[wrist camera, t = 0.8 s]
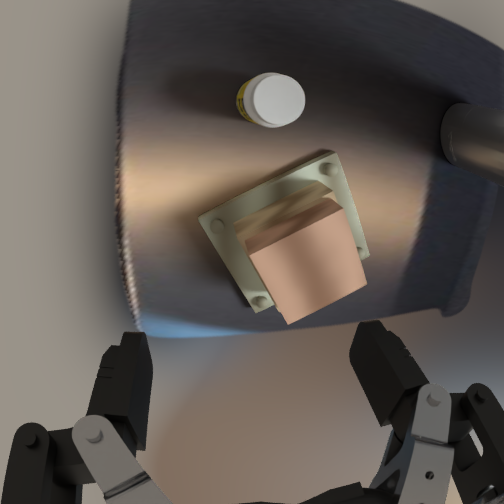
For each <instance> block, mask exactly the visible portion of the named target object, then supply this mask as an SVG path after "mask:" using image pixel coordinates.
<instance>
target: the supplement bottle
mask: <svg viewBox="0 0 504 504" xmlns="http://www.w3.org/2000/svg"><path fill="white" fill-rule="evenodd" d="M236 105H237V109H238V111H239V113H240V114H241V115H242V116H243V117H244V118H245V119H247V120H248V121H250V122H253V123H256V124H259V125H261V126H265V127H271V128H274V127H281V126H284V125H286V124H289V123H291V122H293V121H295V120H296V119H297V118H298V117H299V116H300V115H301V113H302V111H303V109H304V106H305V95H304V91H303V89H302V87H301V86H300V85H299V83H298V82H297V81H295V80H294V79H293V78H291V77H289V76H286V75H282V74H278V73H264V74H261V75H258V76H256V77H254V78H252V79H251V80H249V81H247V82H245V83H244V84H243V85H242V86H241V87H240V89H239V90H238V93H237V96H236Z"/></svg>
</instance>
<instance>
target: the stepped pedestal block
mask: <svg viewBox="0 0 504 504" xmlns="http://www.w3.org/2000/svg"><path fill="white" fill-rule="evenodd" d="M198 221H199V222H200V224H201V226H202V227H203V229H204V231H205V232H206V234H207V236H208V237H209V239H210V240H211V242H212V244H213V245H214V247H215V249H216V250H217V252H218V254H219V255H220V257H221V258H222V260H223V262H224V263H225V265H226V267H227V268H228V270H229V271H230V273H231V275H232V276H233V278H234V279H235V281H236V283H237V284H238V286H239V287H240V289H241V291H242V292H243V294H244V295H245V297H246V299H247V300H248V302H249V303H250V305H251V306H252V308H253V310H254V311H255V313H258V312H260V311H262V310H264V309H266V308H268V307H270V306H272V305H274V304H275V306H276V308H277V310H278V311H279V312H280V311H281V313H282V315H283V317H284V318H285V320H286V322H287V324H290V323H292V322H294V321H296V320H299V319H301V318H303V317H305V316H307V315H309V314H311V313H313V312H315V311H317V310H319V309H321V308H323V307H325V306H327V305H329V304H331V303H333V302H334V301H336V300H338V299H340V298H342V297H344V296H346V295H348V294H350V293H352V292H353V291H355V290H357V289H359V288H361V287H363V286H365V285H366V284H367V282H366V279H365V275H364V271H363V268H362V265H361V260H363V259H365V258H366V257H368V256H370V255H369V251H368V248H367V244H366V240H365V237H364V234H363V230H362V227H361V223H360V220H359V217H358V214H357V210H356V207H355V204H354V201H353V198H352V195H351V192H350V189H349V186H348V183H347V180H346V177H345V175H344V172H343V169H342V166H341V163H340V161H339V158H338V155H337V153H336V152H334V151H330V152H328V153H326V154H323V155H321V156H319V157H317V158H315V159H313V160H310V161H308V162H306V163H304V164H302V165H300V166H298V167H296V168H293V169H291V170H289V171H287V172H285V173H283V174H281V175H279V176H277V177H275V178H273V179H271V180H269V181H267V182H265V183H263V184H260V185H258V186H256V187H254V188H252V189H250V190H248V191H246V192H245V193H243V194H241V195H239V196H237V197H235V198H233V199H231V200H229V201H227V202H225V203H223V204H221V205H219V206H217V207H215V208H213V209H212V210H210V211H208V212H206V213H204V214H202V215H200V216H198Z"/></svg>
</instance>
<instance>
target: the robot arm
mask: <svg viewBox="0 0 504 504" xmlns="http://www.w3.org/2000/svg"><path fill="white" fill-rule="evenodd" d="M440 138H441V145H442V149H443V152H444V154H445V156H446V158H447V159H448V161H449V162H450V163H452V164H453V165H455V166H457V167H459V168H462V169H464V170H467V171H469V172H472V173H474V174H476V175H478V176H481V177H483V178H485V179H488V180H490V181H492V182H494V183H497V184H499V185H501V186H503V187H504V111H503V110H498V109H493V108H488V107H483V106H478V105H471V104H465V103H457V104H454V105H452V106H451V107H450V108H449V109H448V110H447V111H446V113H445V115H444V117H443V120H442V124H441V131H440ZM349 357H350V363H351V365H352V367H353V369H354V371H355V373H356V375H357V377H358V380H359V382H360V384H361V386H362V388H363V390H364V392H365V394H366V396H367V398H368V400H369V403H370V405H371V407H372V409H373V411H374V413H375V415H376V418H377V420H378V422H379V424H380V426H381V427H382V426H386V425H389V424H391V425H392V427H393V429H392V431H391V433H390V436H389V440H388V443H387V446H386V449H385V453H384V455H383V459H382V462H381V465H380V468H379V470H378V472H377V474H376V476H375V477H374V478H373V480H372V482H371V484H370V486H369V488H362V486H361V483H360V482H357V483H353V484H350V485H346V486H342V487H339V488H335V489H330V490H328V491H326V492H324V493H322V494H320V495H318V496H316V497H313V498H311V499H309V500H307V501H305V502H302V503H299V504H445V500H446V496H447V491H448V487H449V481H450V476H451V475H452V477H453V480H454V482H455V485H456V487H457V490H458V492H459V494H460V497H461V500H462V502H463V504H504V411H503V409H502V407H501V405H500V404H499V402H498V401H497V399H496V398H495V396H494V394H493V393H492V391H491V390H490V389H489V388H488V387H487V386H485V385H483V384H480V383H474V384H472V385H471V386H470V387H469V388H468V389H467V391H466V392H465V393H449V392H448V391H447V390H446V389H445V388H443V387H442V386H440V385H438V384H433V383H429V381H428V380H427V378H426V377H425V375H424V373H423V372H422V371H421V369H420V368H419V366H418V364H417V363H416V361H415V360H414V358H413V357H411V354H410V352H409V351H408V350H407V349H406V346H405V345H404V344H403V342H402V341H401V339H400V338H399V337H397V336H396V335H395V334H394V333H392V332H391V331H387V330H386V329H385V327H384V326H383V324H382V323H381V322H380V321H379V320H372V321H364V322H360V323H359V325H358V327H357V330H356V333H355V336H354V339H353V342H352V345H351V348H350V352H349ZM99 367H100V369H99V370H98V373H97V378H96V380H95V384H94V388H93V391H92V395H91V399H90V403H89V407H88V411H87V414H86V416H85V417H83V418H81V419H80V420H78V422H77V423H76V424H75V425H74V427H72V428H68V429H62V430H54V431H47V430H46V429H45V428H44V427H43V426H41V425H40V424H38V423H26V424H24V425H22V426H21V427H19V429H18V430H17V431H16V433H15V435H14V439H13V443H12V447H11V451H10V456H9V460H8V465H7V470H6V475H5V480H4V486H3V493H2V500H1V504H82V487H83V484H89V483H96V482H97V484H98V486H99V487H100V489H101V490H102V492H103V494H104V499H105V501H106V503H107V504H173V503H172V502H171V501H170V500H169V499H168V498H167V496H166V495H165V494H164V493H163V492H162V491H161V489H160V488H159V487H158V486H157V485H156V484H155V483H154V481H153V480H152V479H151V477H150V476H149V475H148V474H147V473H146V472H145V471H144V470H143V468H142V467H141V465H140V464H139V463H138V461H137V460H136V450H142V451H145V449H146V436H147V424H148V413H149V404H150V395H151V387H152V379H153V364H152V359H151V355H150V351H149V347H148V342H147V338H146V334H145V332H124V333H123V336H122V340H121V343H120V346H116V345H111V346H110V347H109V349H108V350H107V351H106V352H105V353H104V354H103V356H102V360H101V363H100V366H99ZM472 429H474V430H475V433H476V434H477V436H478V438H479V440H480V442H481V444H482V446H483V455H482V457H481V456H480V454H479V452H478V450H477V448H476V446H475V444H474V442H473V440H472V438H471V436H470V434H469V432H470V431H471V430H472ZM241 504H283V503H270V502H269V503H268V502H253V503H241Z"/></svg>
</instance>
